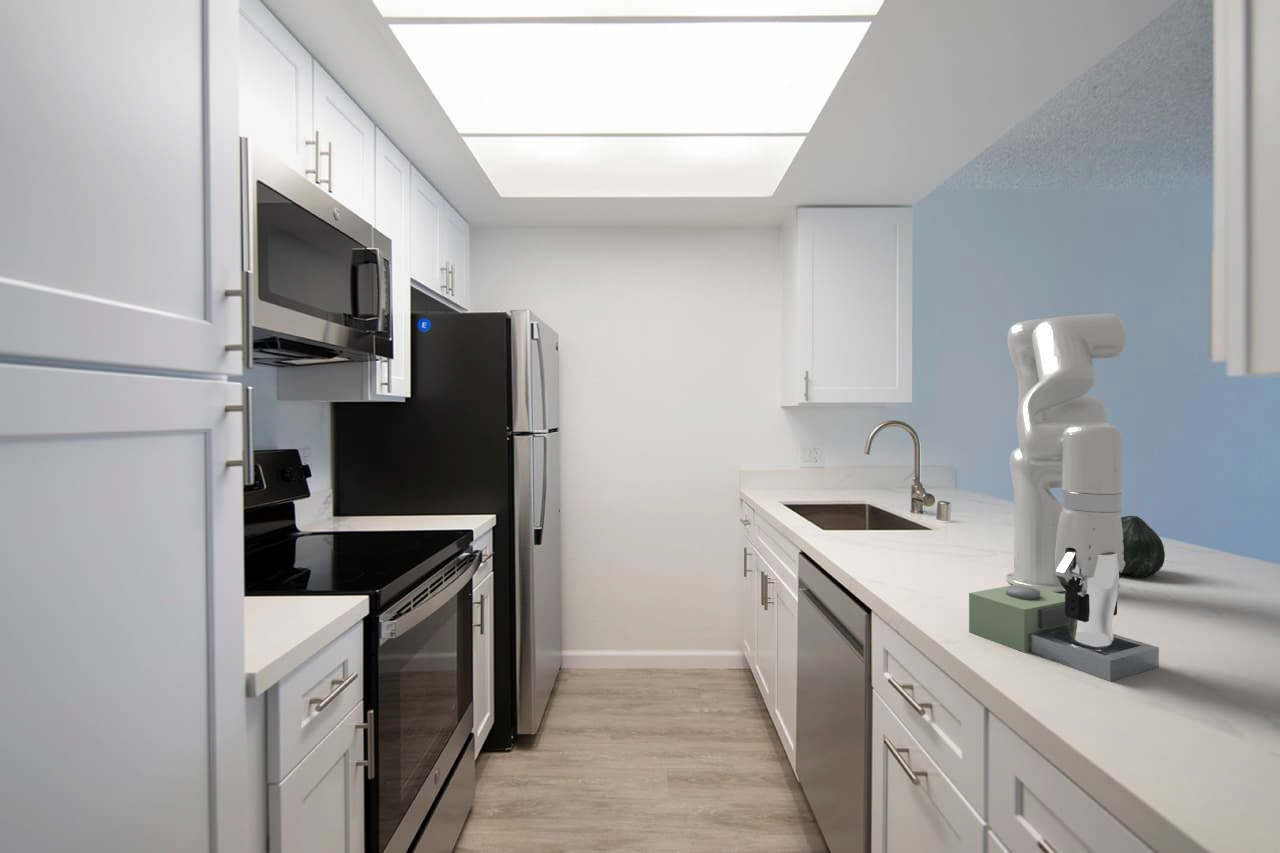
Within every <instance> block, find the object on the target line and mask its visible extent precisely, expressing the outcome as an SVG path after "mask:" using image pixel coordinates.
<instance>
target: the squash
mask: <svg viewBox="0 0 1280 853" xmlns="http://www.w3.org/2000/svg"><path fill="white" fill-rule="evenodd" d="M1121 522H1122V531H1123V545H1124V559H1123V560H1124V561H1125V567H1124V569H1123V570H1122V572H1121V574H1126V575H1130V576H1132V577H1135V578H1144V577H1149V576H1153V575H1154V574H1156V573H1157V572H1159V571H1160V570H1161V569H1162V568H1163V566H1164V563H1165V557H1166V552H1165V546H1164V544H1163V541H1162V539H1161V537H1160V536H1159V535H1158V534H1157V532H1156V531H1155V530H1153V528H1152V527H1151V526H1149V525H1148V524H1147V522H1146V521H1144V520H1143V518H1141V517H1139V516H1138V515H1127V516H1126V515H1125V516H1121Z"/></svg>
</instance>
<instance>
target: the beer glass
mask: <svg viewBox="0 0 1280 853" xmlns="http://www.w3.org/2000/svg"><path fill="white" fill-rule="evenodd" d="M1071 573H1076V574H1080V573H1081V569H1079V567H1078V565H1077V563H1076V564H1075V566H1074V567H1073V569H1072V571H1071ZM1080 575H1081V574H1080ZM1072 579H1073V580H1075V581H1076V582H1077V583H1078V585H1080V581H1081V579H1079V578H1075V577H1072ZM1087 586H1088V588H1087V592H1086V595H1085V596H1089V621H1088V622H1082V621H1079V620H1075V619H1072V618H1070V627H1069V632H1068V636H1067V640H1068V642H1069V643H1071V644H1073V645H1076V646H1079V647H1082V648H1085V649H1088V650H1093V651H1103V652H1106V651H1113V650H1114V649H1115V641H1114V637H1113V634H1114V632H1113V619H1114V616H1113V614H1114V610H1115V605H1116V601H1117V602H1118V595H1119V588H1120V579H1119V568H1118V559H1117V552H1114V554H1110V555H1098V561H1097V565H1096V570H1095V573H1094V577H1092V578H1087Z"/></svg>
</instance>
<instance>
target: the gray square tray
mask: <svg viewBox="0 0 1280 853" xmlns="http://www.w3.org/2000/svg"><path fill="white" fill-rule="evenodd" d="M1069 627H1070V624H1066V625H1062V626H1058V627H1053V628H1049V629H1044V630H1040V631H1036V632H1031V633H1028V652H1029V653H1032V654H1035V655H1037V656H1040V657H1043V658H1045V659H1049V660H1051V661H1054V662H1057V663H1060V664H1062V665H1064V666H1068V667H1070V668H1072V669H1076V670H1078V671H1081V672H1084V673H1086V674H1089V675H1092V676H1094V677H1098V678H1099V679H1103V680H1106V681H1109V682H1112V681H1116V680H1120V679H1123V678H1125V677H1126V678H1127V677H1129V676H1133V675H1136V674H1139V673H1143V672H1146V671H1150V670H1153V669H1157V668H1159V666H1160V664H1159V662H1160V659H1159V658H1160V657H1159V656H1160V655H1159V654H1160V647H1158V646H1155V645H1152V644H1148V643H1145V642H1141V641H1139V640H1136V639H1131V638H1128V637H1125V636H1121V635H1118V634H1115V633H1113V637H1114V641H1115V649H1114V650H1113V651H1106V652H1103V651H1093V650H1088V649H1085V648H1082V647H1079V646H1076V645H1073V644H1071V643H1069V642H1068V640H1067V636H1068V632H1069Z"/></svg>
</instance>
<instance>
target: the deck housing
mask: <svg viewBox="0 0 1280 853" xmlns="http://www.w3.org/2000/svg"><path fill="white" fill-rule="evenodd" d="M968 615H969V616H968V619H969V620H968V632H969V633H971V634H973V635H977V636H979V637H982V638H984V639H987V640H990V641H993V642H995V643H998V644H1001V645H1003V646H1006V647H1008V648H1012V649H1015V650H1017V651H1020V652H1023V653H1028V652H1029V651H1028V633H1031V632H1036V631H1040V630H1044V629H1049V628H1053V627H1058V626H1062V625H1066V624H1070V618H1069V617H1066V615H1065V593H1063V594H1062V593H1061V592H1052V591H1049V590H1045V589H1041V588H1037V587H1033V586H1029V585H1026V584H1017V585H1013V584H1010V585H1007V586H1000V587H996V588H990V589H984V590H977V591H972V592H969V593H968Z"/></svg>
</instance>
